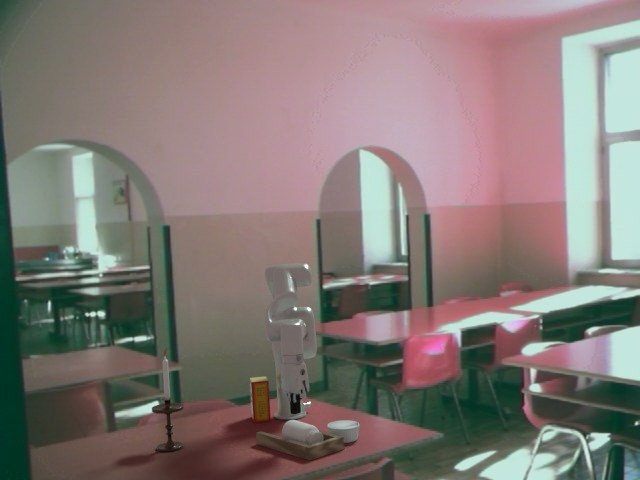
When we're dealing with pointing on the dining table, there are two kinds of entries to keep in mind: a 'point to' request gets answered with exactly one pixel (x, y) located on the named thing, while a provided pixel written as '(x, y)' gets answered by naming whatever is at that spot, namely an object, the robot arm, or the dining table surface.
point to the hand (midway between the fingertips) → (295, 413)
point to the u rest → (302, 445)
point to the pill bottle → (301, 432)
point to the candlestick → (168, 412)
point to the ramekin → (345, 429)
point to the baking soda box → (260, 399)
